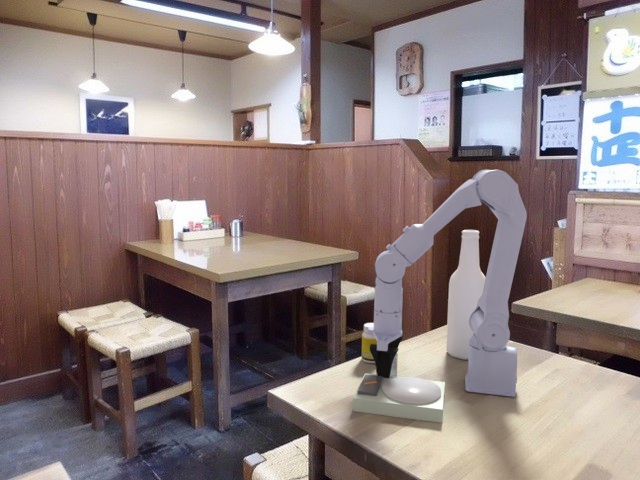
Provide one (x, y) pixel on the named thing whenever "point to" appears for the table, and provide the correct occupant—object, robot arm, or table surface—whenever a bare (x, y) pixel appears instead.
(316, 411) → the table surface
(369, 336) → the supplement bottle
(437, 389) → the scale
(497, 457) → the table surface
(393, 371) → the cylinder
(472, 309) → the alcohol
